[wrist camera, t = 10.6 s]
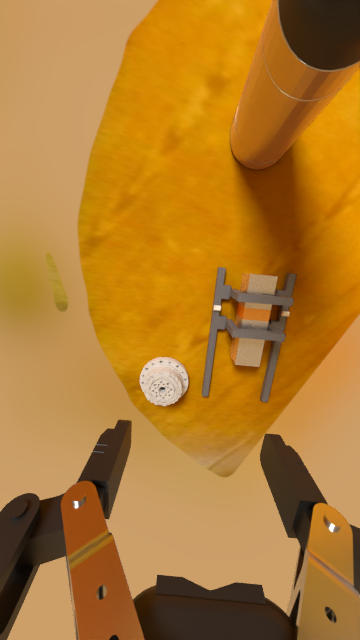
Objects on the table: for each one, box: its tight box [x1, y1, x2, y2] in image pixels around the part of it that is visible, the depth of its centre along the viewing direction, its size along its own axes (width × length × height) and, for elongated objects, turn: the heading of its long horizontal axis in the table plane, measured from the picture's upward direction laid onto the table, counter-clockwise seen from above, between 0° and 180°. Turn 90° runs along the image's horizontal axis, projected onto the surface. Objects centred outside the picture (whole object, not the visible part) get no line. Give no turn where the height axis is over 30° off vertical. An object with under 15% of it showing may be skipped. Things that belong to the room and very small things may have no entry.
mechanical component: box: [140, 357, 188, 406], centre depth 41 cm, size 10×4×10 cm
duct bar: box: [230, 273, 278, 367], centre depth 37 cm, size 16×4×4 cm, turn 175°
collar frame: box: [202, 267, 297, 402], centre depth 37 cm, size 26×14×7 cm, turn 175°
